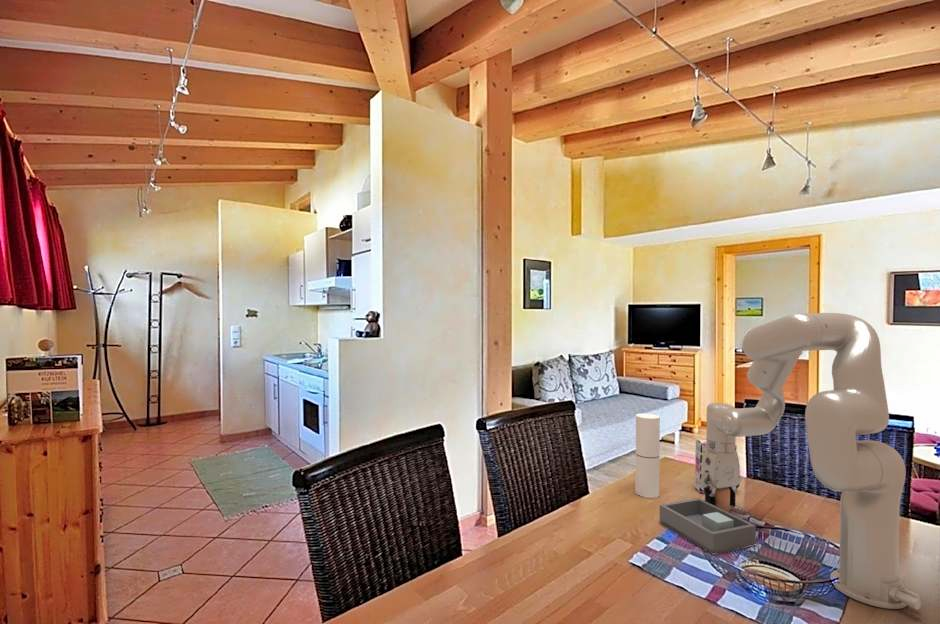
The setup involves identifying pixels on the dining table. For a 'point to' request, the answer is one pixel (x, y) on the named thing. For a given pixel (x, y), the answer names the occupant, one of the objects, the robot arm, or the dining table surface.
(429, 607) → the dining table surface
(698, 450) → the candy bar box
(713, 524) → the cube
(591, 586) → the dining table surface
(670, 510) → the tray
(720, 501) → the cylinder
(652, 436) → the cylindrical container
